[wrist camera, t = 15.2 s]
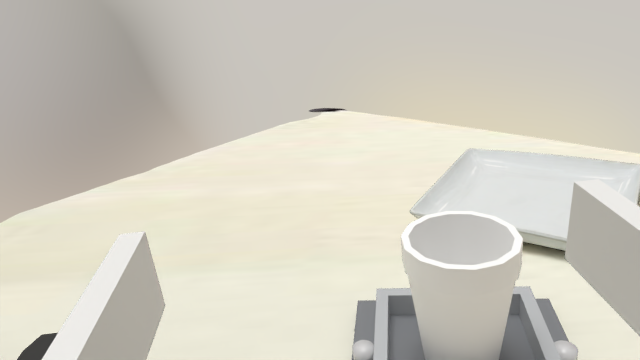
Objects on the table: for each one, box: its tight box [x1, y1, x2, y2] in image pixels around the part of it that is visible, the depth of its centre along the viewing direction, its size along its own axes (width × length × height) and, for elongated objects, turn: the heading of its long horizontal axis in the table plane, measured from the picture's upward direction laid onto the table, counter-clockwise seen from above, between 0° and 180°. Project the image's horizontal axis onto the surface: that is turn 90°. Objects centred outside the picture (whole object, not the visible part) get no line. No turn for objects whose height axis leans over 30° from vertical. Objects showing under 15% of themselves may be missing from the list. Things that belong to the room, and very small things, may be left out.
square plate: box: [410, 149, 640, 251], centre depth 72 cm, size 27×27×4 cm
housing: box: [352, 286, 578, 360], centre depth 45 cm, size 20×18×4 cm
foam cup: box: [401, 211, 523, 360], centre depth 42 cm, size 10×9×13 cm
